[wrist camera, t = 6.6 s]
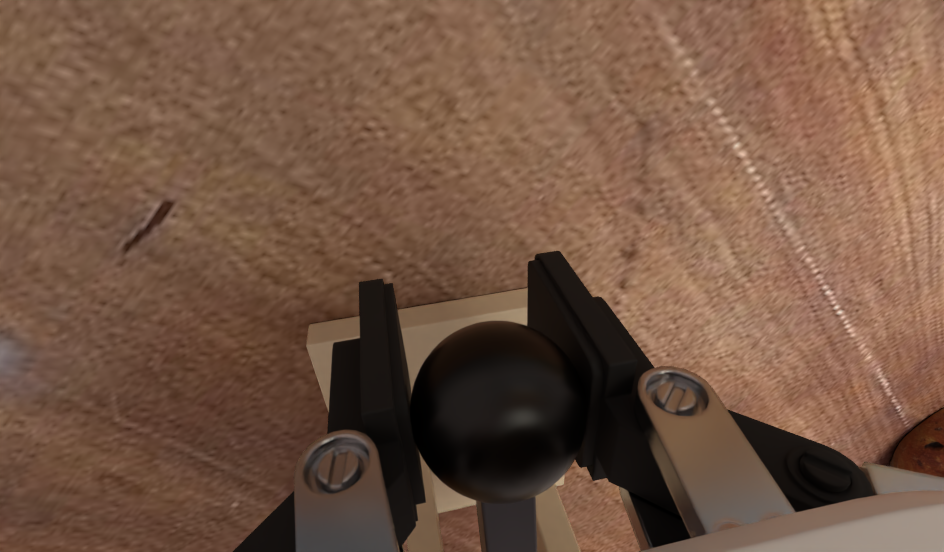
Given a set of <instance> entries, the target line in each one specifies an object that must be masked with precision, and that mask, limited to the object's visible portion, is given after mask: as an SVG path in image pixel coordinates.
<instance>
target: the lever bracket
mask: <svg viewBox="0 0 944 552" xmlns="http://www.w3.org/2000/svg"><path fill="white" fill-rule="evenodd" d="M527 297H528V288H524V289H518V290H512V291H506V292H500V293H494V294H488V295H482V296H476V297H471V298H465V299H459V300H453V301H447V302H441V303H435V304H429V305H423V306H417V307H411V308H405V309H399V310H398V315H399V321H400V327H401V332H402V338H403V343H404V349H405V354H406V360H407V365H408V371H409V378H410V385H411V393H412V390H413V386H414V382H415V379H416V377H417V375H418V372H419V370H420V368H421V366H422V364H423V362H424V361H425V359H426V358H427V357H428V355H429V354H430V353H431V351H432V350H433V349H434V348H435V347H436V346H437V345H438V344H439V343H440V342H441V341H442V340H444V339H445V338H446V337H447V336H449V335H451V334H452V333H454V332H455V331H457V330H459V329H462V328H464V327H466V326H469V325H472V324H475V323H480V322H485V321H510V322H515V323H519V324H523V325H526V326H527ZM357 338H360V316H357V317H351V318H345V319H339V320H333V321H327V322H321V323H315V324H310V325H309V327H308V335H307V344H306V347H307V350H308V353H309V356H310V359H311V362H312V365H313V368H314V371H315V374H316V377H317V380H318V383H319V386H320V388H321V391H322V394H323V397H324V400H325V403H326V406H327V409H328V412H329V398H330V380H331V363H332V348H333V344H334V342H340V341H346V340H351V339H357ZM419 453H420V452H419ZM420 460H421V468H422V475H423V483H424V490H425V498H426V503H422V504H418V505H416V506H417V515H418V521H416V527H415V528H414V530H413V531H412V532H411V534H410V535H409V536H408V538H407V546H408V552H444V550H443V543H442V537H441V530H440V523H439V517H438V513H442V512H446V511H451V510H455V509H459V508H464V507H468V506H473V505H476V500H473V499H470V498H468V497H465V496H463V495H461V494H459V493H457V492H455V491H454V490H452V489H451V488H449V487H448V486H446V485H445V484H444V483H443V482H442V481H441V480H440V479H439V478H438V477H437V476H436V475H435V474H434V473H433V472H432V471H431V470H430V468H429V467H428V466H427V464H426V463H425V461H424V460H423V458H422V456H421V454H420ZM564 476H565V474H564V475H563V476H562V477H561V478H560V479H559V480H558V481H557V482H556V483H555V484H554V485H553V486H551V487H550V488H549V489H547V490H546V491H544V492H542V493H541V494H539V495H537V496H536V524H537V552H581V550H580V548H579V545H578V542H577V540H576V537H575V535H574V532H573V529H572V527H571V524H570V521H569V519H568V516H567V514H566V511H565V508H564V506H563V503H562V501H561V498H560V495H559V493H558V490H557V488H556V486H560V485H563V484H564Z"/></svg>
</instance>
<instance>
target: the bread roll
mask: <svg viewBox="0 0 944 552" xmlns="http://www.w3.org/2000/svg"><path fill="white" fill-rule="evenodd" d="M890 466H891V467H894V468H899V469H904V470H909V471H914V472H919V473H924V474H929V475H934V476H939V477H943V478H944V408H943V409H941V410H940V411H938V412H936V413H935V414H933V415H932V416H930V417H929V418H928V419H926V420H925V421H924V422H922V423H921V424H919V425H918V426H917V427H916V428H914V429H913V430H912V431H911V432H910V433H909V434H907V435H906V436H905V437H904V438H903V440H902V441H901V442H900V443H899V445H898V447H897V449H896V450H895V452H894V455H893V458H892V460H891V462H890Z"/></svg>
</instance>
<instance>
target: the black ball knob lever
mask: <svg viewBox="0 0 944 552" xmlns="http://www.w3.org/2000/svg"><path fill="white" fill-rule="evenodd" d="M410 416H411V423H412V430H413V435H414V440H415V443H416V445H417V448H418V450H419V452H420V454H421V456H422V458H423V460H424V461H425V463H426V464H427V466H428V467H429V468H430V470H431V471H432V472H433V473H434V474H435V475H436V476H437V477H438V478H439V479H440V480H441V481H442V482H443V483H444V484H445V485H446V486H448V487H449V488H451V489H452V490H454V491H455V492H457V493H459V494H461V495H463V496H465V497H468V498H470V499H473V500H476V506H477V515H478V524H479V533H480V542H481V550H482V552H537V524H536V496H537V495H539V494H541V493H542V492H544V491H546V490H547V489H549V488H550V487H551V486H553V485H554V484H555V483H556V482H557V481H558V480H559V479H560V478H561V477H562V476H563V475H564V474H565V473H566V472H567V471H568V469H569V468H570V467H571V465H572V463H573V462H574V460H575V458H576V456H577V454H578V452H579V450H580V448H581V445H582V441H583V438H584V434H585V430H586V420H587V406H586V397H585V393H584V389H583V385H582V382H581V379H580V377H579V375H578V372H577V371H576V369H575V367H574V365H573V363H572V362H571V360H570V359H569V357H568V356H567V355H566V354H565V352H564V351H563V350H562V349H561V348H560V347H559V346H558V345H557V344H556V343H555V342H553V341H552V340H551V339H550V338H549V337H547V336H546V335H544V334H542V333H541V332H539V331H537V330H535V329H533V328H531V327H528V326H526V325H523V324H519V323H515V322H510V321H485V322H480V323H475V324H472V325H469V326H466V327H464V328H462V329H459V330H457V331H455V332H454V333H452V334H451V335H449V336H447V337H446V338H445V339H444V340H442V341H441V342H440V343H439V344H438V345H437V346H436V347H435V348H434V349H433V350H432V351H431V353H430V354H429V355H428V357H427V358H426V359H425V361H424V362H423V364H422V366H421V368H420V370H419V372H418V375H417V377H416V379H415V382H414V386H413V390H412V395H411V402H410Z"/></svg>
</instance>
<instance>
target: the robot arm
mask: <svg viewBox="0 0 944 552" xmlns="http://www.w3.org/2000/svg"><path fill="white" fill-rule="evenodd" d="M359 316H360V338H357V339H351V340H346V341H340V342H334V344H333V348H332V363H331V380H330V398H329V415H328V432H327V434H326V435H324V436H322V437H320V438H318V439H317V440H316V441H314V442H313V443H311V444H310V445H309V446H308V447H307V448H306V450H305V451H304V452H303V453H302V454H301V456H300V458H299V460H298V462H297V464H296V466H295V472H294V491H293V492H292V493H291V494H290V495H289V496H288V497H287V498H286V499H285V500H284V501H283V502H282V503H281V504H280V505H279V506H278V507H277V508H276V509H275V510H274V511H273V512H272V513H271V514H270V515H269V516H268V517H267V518H266V519H265V520H264V521H263V522H262V523H261V524H260V525H259V526H258V527H257V528H256V529H255V530H254V531H253V532H252V533H251V534H250V535H249V536H248V537H247V538H246V539H245V540H244V541H243V542H242V543H241V544H240V545H239V546H238V547H237V548H236V549H235V550H234V551H233V552H404V549H403V543H404V542H405V540H406V539H407V538H408V536H409V535H410V534H411V532H412V531H413V530H414V528H415V527H416V521H418V515H417V506H416V505H418V504H422V503H426V498H425V490H424V483H423V475H422V468H421V460H420V453H419V450H418V448H417V445H416V443H415V440H414V435H413V430H412V423H411V416H410V402H411V395H412V393H411V385H410V378H409V371H408V365H407V360H406V354H405V349H404V343H403V338H402V332H401V327H400V321H399V315H398V310H397V304H396V299H395V293H394V288H393V283H390V284H384V282H383V279H376V280H370V281H363V282H359ZM527 326H528V327H531V328H533V329H535V330H537V331H539V332H541V333H542V334H544V335H546V336H547V337H549V338H550V339H551V340H552V341H553V342H555V343H556V344H557V345H558V346H559V347H560V348H561V349H562V350H563V351H564V352H565V354H566V355H567V356H568V357H569V359H570V360H571V362H572V363H573V365H574V367H575V369H576V371H577V372H578V375H579V377H580V379H581V382H582V385H583V389H584V393H585V397H586V406H587V420H586V430H585V434H584V438H583V441H582V445H581V448H580V450H579V452H578V454H577V456H576V458H575V460H576V462H577V464H578V465H579V467H581V468H582V467H587V469H588V471H589V473H590V475H591V477H592V480H593V481H595V480H599V479H603V478H607V479H608V481H609V482H611V483H613V484H615V485H617V486H619V490H620V495H621V497H622V500H623V503H624V506H625V508H626V511H627V514H628V517H629V520H630V522H631V525H632V528H633V531H634V533H635V536H636V539H637V542H638V544H639V547H640V550H641V551H639V552H944V478H943V477H939V476H934V475H929V474H924V473H919V472H914V471H909V470H904V469H899V468H894V467H889V466H884V465H879V464H874V463H869V462H864V463H863V464H862V466H861V467H858V466H857V465H856V464H855V463H854V462H853V461H851V460H850V459H848V458H847V457H846V456H844V455H843V454H841V453H840V452H838V451H836V450H834V449H832V448H829V447H827V446H825V445H823V444H820V443H817V442H814V441H812V440H809V439H806V438H804V437H801V436H798V435H795V434H793V433H790V432H787V431H785V430H782V429H779V428H776V427H774V426H771V425H768V424H766V423H763V422H760V421H757V420H755V419H752V418H749V417H747V416H744V415H741V414H738V413H736V412H733V411H730V410H727V409H726V407H725V406H724V404H723V403H722V401H721V400H720V398H719V397H718V395H717V394H716V392H715V391H714V389H713V388H712V387H711V386H710V385H709V384H708V382H707V381H706V380H704V379H703V378H701V377H700V376H698V375H697V374H695V373H693V372H690V371H688V370H686V369H682V368H678V367H673V366H660V367H656V368H654V366H653V365H652V364H651V362H650V361H649V360H648V358H647V357H646V356H645V354H644V353H643V352H642V350H641V349H640V347H639V346H638V345H637V343H636V342H635V341H634V339H633V338H632V337H631V335H630V334H629V333H628V331H627V330H626V329H625V327H624V326H623V325H622V323H621V322H620V321H619V319H618V318H617V316H616V315H615V314H614V312H613V311H612V310H611V308H610V307H609V306H608V304H607V303H606V302H605V301H604V300H603V299H602V298H601V297H592V296H591V294H590V293H589V291H588V290H587V289H586V287H585V286H584V284H583V283H582V282H581V280H580V279H579V277H578V276H577V275H576V273H575V272H574V270H573V269H572V268H571V266H570V265H569V263H568V262H567V261H566V259H565V258H564V256H563V255H562V254H561V252H560V251H553V252H547V253H540V254H536V255H535V260H533V261H529V262H528V297H527Z"/></svg>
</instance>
